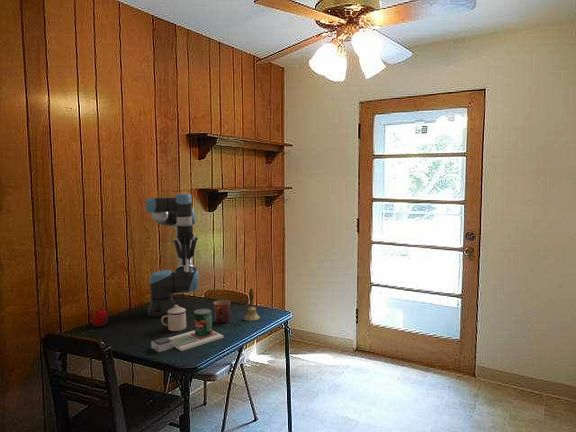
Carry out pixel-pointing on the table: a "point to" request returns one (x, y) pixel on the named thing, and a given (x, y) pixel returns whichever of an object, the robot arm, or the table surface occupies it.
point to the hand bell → (251, 309)
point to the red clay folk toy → (100, 317)
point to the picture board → (193, 340)
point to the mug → (222, 311)
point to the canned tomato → (203, 322)
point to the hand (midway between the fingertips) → (186, 271)
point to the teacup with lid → (176, 318)
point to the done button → (162, 340)
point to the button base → (162, 346)
